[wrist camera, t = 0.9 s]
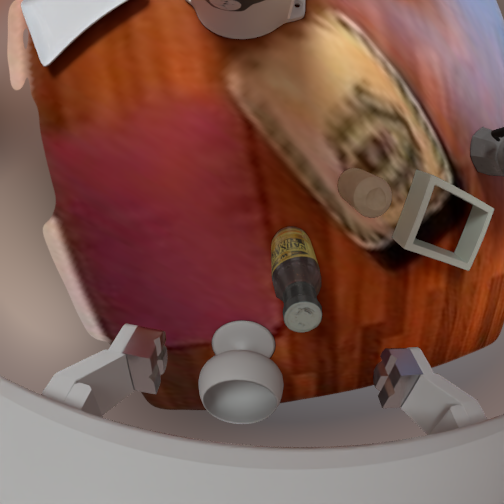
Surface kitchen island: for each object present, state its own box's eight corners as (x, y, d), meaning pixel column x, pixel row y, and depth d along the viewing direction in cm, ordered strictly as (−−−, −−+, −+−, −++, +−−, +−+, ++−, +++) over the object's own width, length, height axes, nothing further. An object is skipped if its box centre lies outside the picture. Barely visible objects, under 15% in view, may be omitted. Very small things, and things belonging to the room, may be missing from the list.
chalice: (248, 301, 52) (245, 360, 39) (294, 348, 56) (302, 407, 43) (192, 338, 56) (176, 396, 42) (239, 378, 60) (235, 435, 46)
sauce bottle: (297, 217, 46) (323, 277, 28) (315, 249, 48) (347, 321, 30) (261, 237, 48) (263, 308, 29) (280, 268, 50) (292, 348, 31)
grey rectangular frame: (416, 169, 43) (431, 174, 38) (478, 201, 44) (494, 208, 39) (391, 237, 47) (403, 248, 43) (455, 259, 49) (468, 271, 44)
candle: (376, 188, 44) (403, 204, 35) (349, 208, 46) (371, 229, 36) (358, 160, 43) (383, 169, 33) (330, 181, 44) (348, 195, 35)
